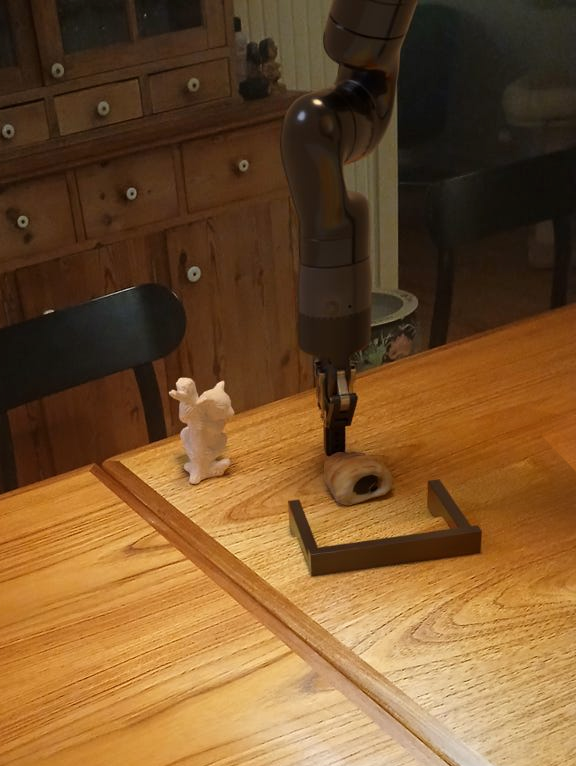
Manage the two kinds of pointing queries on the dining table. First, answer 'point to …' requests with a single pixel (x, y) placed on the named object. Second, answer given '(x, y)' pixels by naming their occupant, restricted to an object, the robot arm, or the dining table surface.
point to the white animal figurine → (203, 428)
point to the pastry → (356, 477)
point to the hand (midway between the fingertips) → (334, 453)
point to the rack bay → (391, 540)
